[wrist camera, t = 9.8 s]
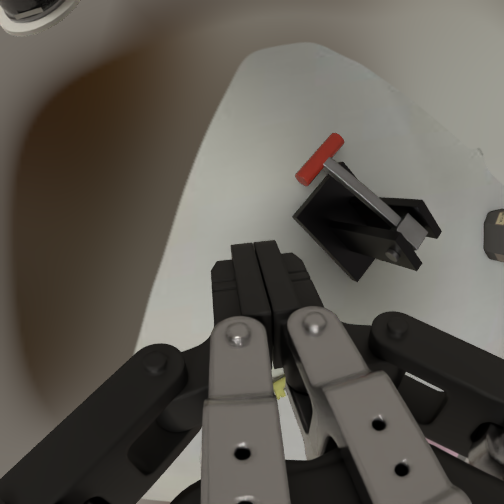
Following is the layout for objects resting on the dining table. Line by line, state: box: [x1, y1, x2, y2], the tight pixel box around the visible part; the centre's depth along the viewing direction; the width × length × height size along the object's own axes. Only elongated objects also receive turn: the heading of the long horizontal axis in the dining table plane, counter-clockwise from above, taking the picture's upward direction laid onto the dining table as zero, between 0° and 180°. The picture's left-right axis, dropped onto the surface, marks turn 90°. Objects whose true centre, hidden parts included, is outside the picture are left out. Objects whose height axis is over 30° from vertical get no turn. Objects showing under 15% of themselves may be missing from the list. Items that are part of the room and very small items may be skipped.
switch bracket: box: [292, 162, 442, 282], centre depth 33 cm, size 12×9×13 cm
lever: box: [295, 133, 428, 251], centre depth 29 cm, size 13×6×2 cm, turn 48°
